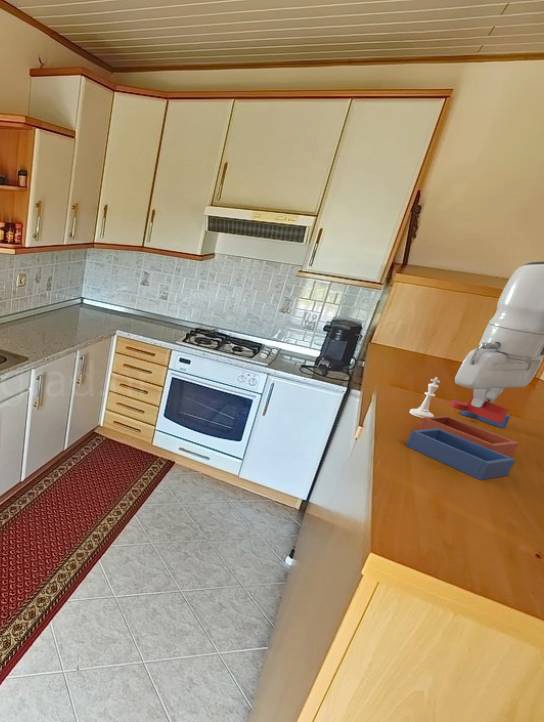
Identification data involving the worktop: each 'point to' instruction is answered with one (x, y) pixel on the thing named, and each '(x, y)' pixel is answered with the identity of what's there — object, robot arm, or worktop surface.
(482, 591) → the worktop surface
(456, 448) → the blue bin
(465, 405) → the red block
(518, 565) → the worktop surface
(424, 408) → the chess piece
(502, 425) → the blue flat paddle
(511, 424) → the worktop surface
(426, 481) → the worktop surface
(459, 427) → the red bin
